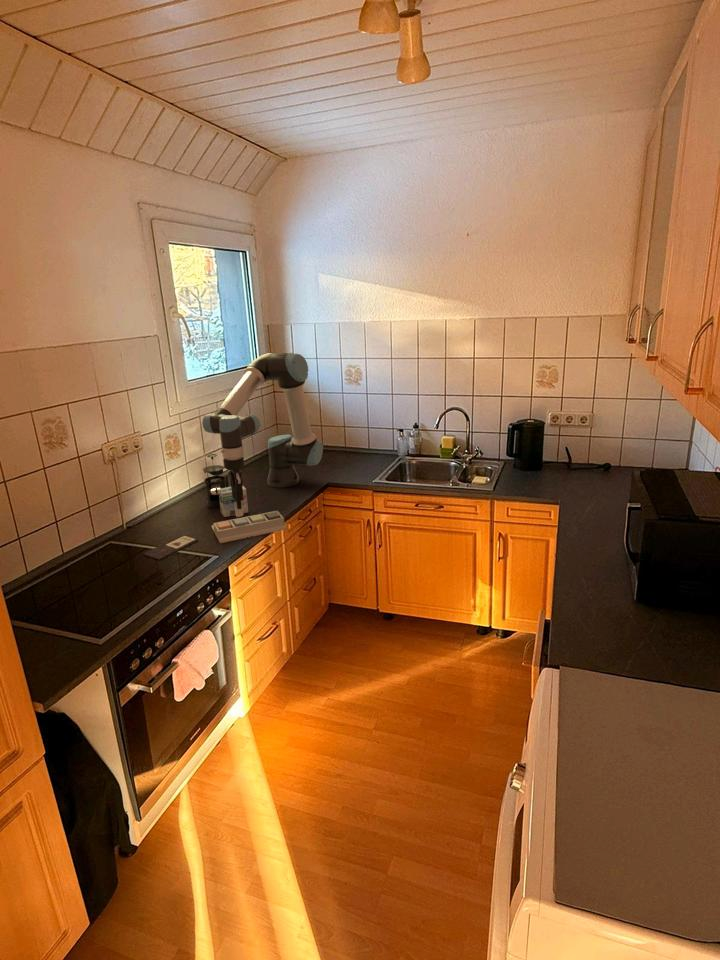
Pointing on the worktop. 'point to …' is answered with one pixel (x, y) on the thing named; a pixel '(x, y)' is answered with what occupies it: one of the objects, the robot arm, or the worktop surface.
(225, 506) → the light bulb box
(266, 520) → the keypad board
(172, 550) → the chocolate bar
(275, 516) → the charcoal key
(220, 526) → the terracotta key
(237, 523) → the slate key
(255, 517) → the sage key
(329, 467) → the worktop surface
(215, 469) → the french press
